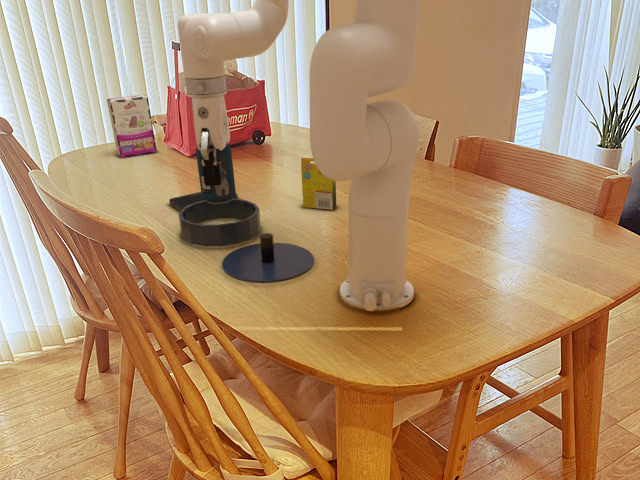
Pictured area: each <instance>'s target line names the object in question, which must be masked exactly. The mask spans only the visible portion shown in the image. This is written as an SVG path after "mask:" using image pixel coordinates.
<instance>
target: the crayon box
mask: <svg viewBox="0 0 640 480" xmlns="http://www.w3.org/2000/svg"><path fill="white" fill-rule="evenodd" d="M300 159H301V160H300V161H301V163H300V165H301V166H300V168H301V169H300V170H301V188H302V189H301V190H302V207H303V208H304V209H306V208H309V209H320V210H329V211H333V210H334V209H335V208H337V181H334V180H331V179H329V178H327V177H325V176H324V175H323V174H322V173H321V172H320V171H319V169H318V168H317V166H316V164H315V161H314V159H313V157H301V158H300ZM312 162H314V163H312Z"/></svg>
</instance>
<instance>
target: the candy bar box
mask: <svg viewBox="0 0 640 480" xmlns="http://www.w3.org/2000/svg"><path fill="white" fill-rule="evenodd" d="M106 103H107V107H108V112H109V117H110V123H111V128H112V133H113V138H114V144H115V148H116V153H117V155H118V156H119V157H120V158H122V159H123V158H130V157H136V156H143V155H148V154H154V153H157V152H158V150H157V145H156V144H157V143H156V138H155V132H154V128H153V127H154V126H153V120H152V113H151V108H150V101H149V97H148V95H145V94H137V95H128V96H127V95H126V96H121V97H114V98H113V97H112V98H107V99H106Z"/></svg>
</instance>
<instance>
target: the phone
mask: <svg viewBox="0 0 640 480" xmlns="http://www.w3.org/2000/svg"><path fill="white" fill-rule="evenodd" d="M234 198H235V199H239V197H238V193H237V192H236V193H235V196H234ZM204 200H205V199H204V198H203V197H202V194H201V191H198V192H195V193H190V194H185V195H180V196H175V197H171V198H169V200H168V201H169V205H170V206H171V207H173V208H174V209H176V210H177V211H179V212H180V211H181V210H182V209H183V208H185V207H187V206H188V205H190V204H193V203H196V202H200V201H204Z"/></svg>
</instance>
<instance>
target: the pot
mask: <svg viewBox="0 0 640 480" xmlns="http://www.w3.org/2000/svg"><path fill="white" fill-rule="evenodd" d="M260 212H261V211H260V208H259V206H258V205H257V204H256V203H254V202H252V201H250V200H247V199H242V198H238V199H235V198H233V200H232V201H230V202H227V203H223V204H210V203H207V202H206V201H205V200H204V201H200V202H196V203H193V204H190V205H188V206H187V207H185V208H183V209H182V210H181V211H179V213H178V214H177V215H178V221H179V228H180V235H181V237H182V240H184V241H186V242H188V243H189V244H192V245H197V246H202V247H225V246H232V245H239V244H241V243H245V242H247V241H249V240H250V241H251V240H253V238H255V237H256V236H257V235H259V234H260V231H261V229H262V226H261V213H260ZM219 219H237V221H234V222H227V223H222V224H202V223H203V222H206V221H210V220H219Z"/></svg>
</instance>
